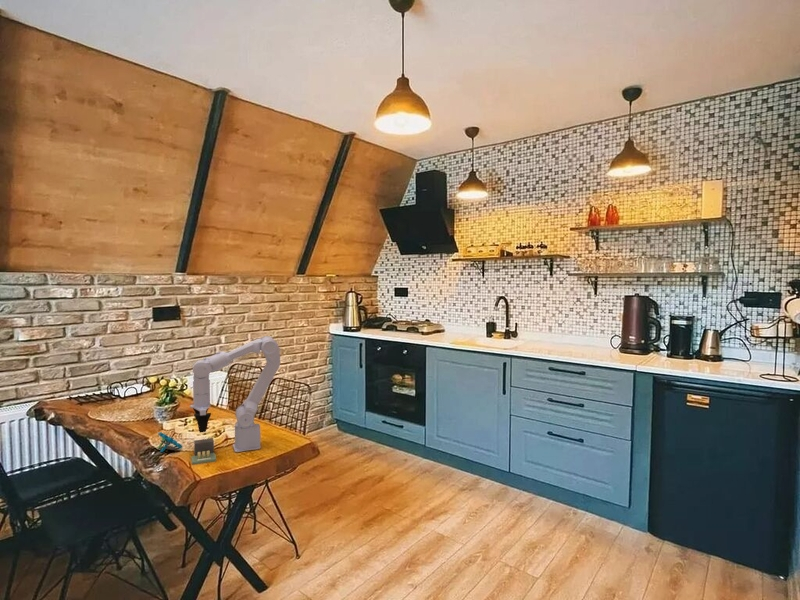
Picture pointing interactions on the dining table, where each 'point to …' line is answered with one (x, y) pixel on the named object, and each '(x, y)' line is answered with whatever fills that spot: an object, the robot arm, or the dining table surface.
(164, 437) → the teal plastic t-shaped piece
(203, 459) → the header board
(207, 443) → the plug housing
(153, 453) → the dining table surface
